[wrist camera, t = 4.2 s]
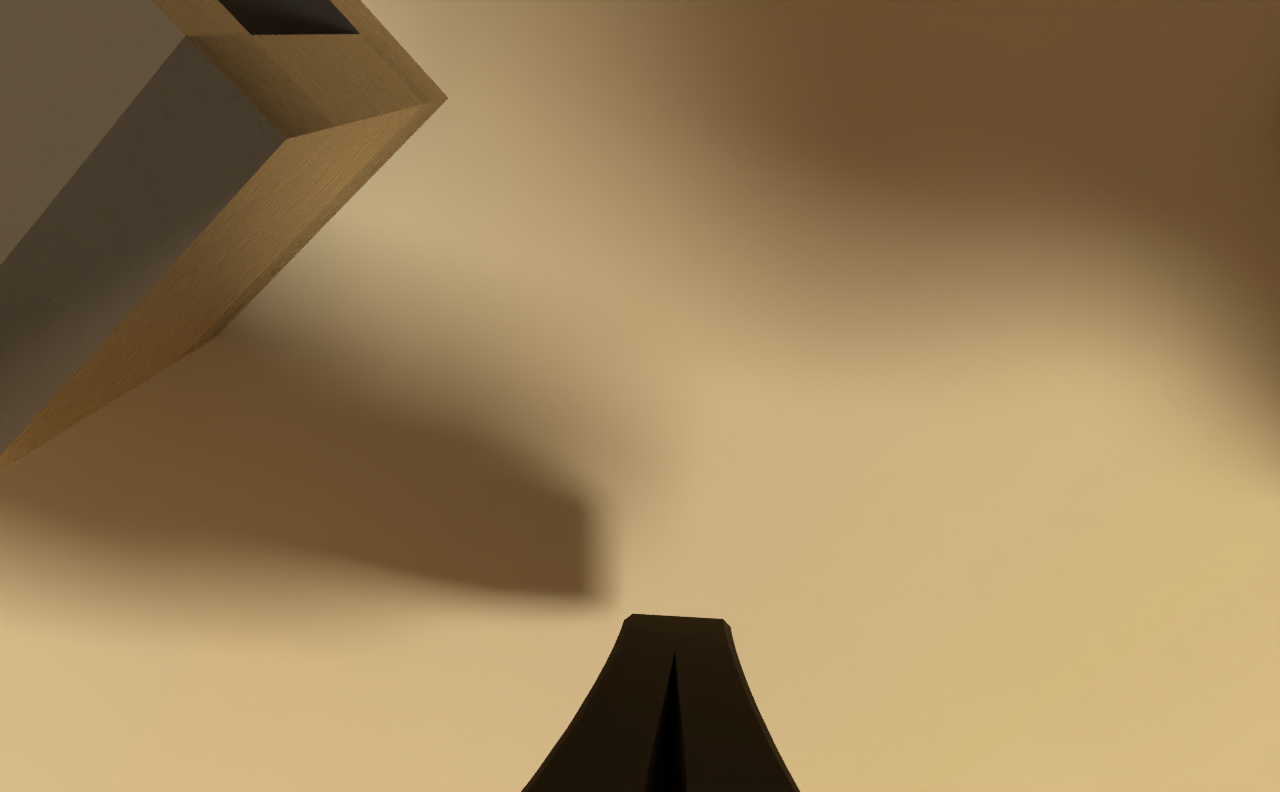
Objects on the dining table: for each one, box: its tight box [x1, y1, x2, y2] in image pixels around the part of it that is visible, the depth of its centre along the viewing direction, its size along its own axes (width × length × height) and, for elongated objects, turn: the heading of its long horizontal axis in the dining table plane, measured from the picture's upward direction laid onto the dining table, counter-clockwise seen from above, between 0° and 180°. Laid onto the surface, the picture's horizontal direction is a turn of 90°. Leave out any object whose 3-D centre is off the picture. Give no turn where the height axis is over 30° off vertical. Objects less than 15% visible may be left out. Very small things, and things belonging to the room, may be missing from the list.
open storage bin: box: [0, 0, 448, 470], centre depth 9 cm, size 5×5×4 cm
